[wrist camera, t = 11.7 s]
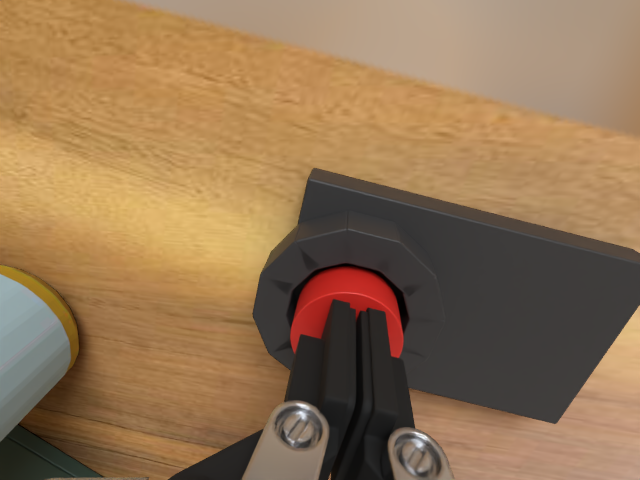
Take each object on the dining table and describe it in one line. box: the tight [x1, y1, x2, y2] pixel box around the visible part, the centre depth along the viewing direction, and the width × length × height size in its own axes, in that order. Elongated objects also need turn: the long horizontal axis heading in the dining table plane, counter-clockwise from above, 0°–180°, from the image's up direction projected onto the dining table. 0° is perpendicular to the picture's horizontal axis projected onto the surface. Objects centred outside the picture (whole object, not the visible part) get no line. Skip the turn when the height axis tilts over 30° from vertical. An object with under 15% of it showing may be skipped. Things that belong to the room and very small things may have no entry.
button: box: [290, 266, 404, 358], centre depth 13 cm, size 4×4×2 cm
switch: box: [253, 168, 640, 424], centre depth 15 cm, size 14×8×4 cm, turn 77°
